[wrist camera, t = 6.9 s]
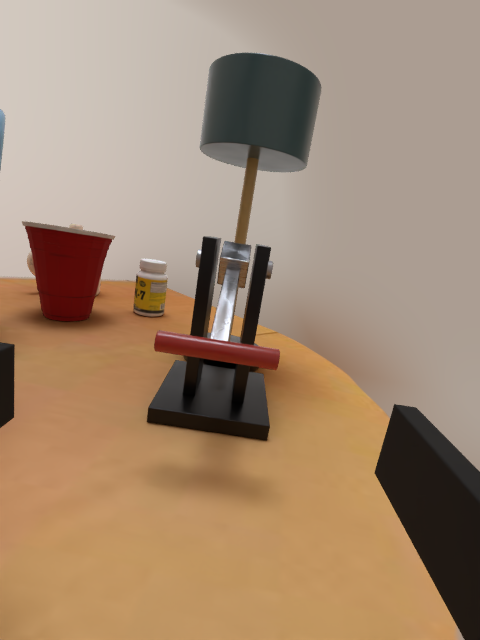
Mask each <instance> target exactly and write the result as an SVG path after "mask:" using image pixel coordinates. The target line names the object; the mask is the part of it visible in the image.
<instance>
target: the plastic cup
mask: <svg viewBox="0 0 480 640" xmlns="http://www.w3.org/2000/svg"><path fill="white" fill-rule="evenodd" d="M22 223H23V225H24V226H25V229H26V232H27V234H28V239H29V243H30V248H31V251H32V257H33V264H34V270H35V276H36V283H37V289H38V291H39V296H40V303H41V309H42V311H43V315H44V316H45V317H46V318H49V319H52V320H59V321H80V320H85V319H87V318H89V316H90V313H91V311H92V306H93V302H94V298H95V295H96V293H97V289H98V284H99V280H100V276H101V272H102V268H103V264H104V260H105V257H106V255H107V251H108V249H109V245H110V244H111V242H112V239H114V238H115V236H111V235H107V234H102V233H97V232H91V231H85V230H79V229H73V228H67V227H61V226H54V225H47V224H41V223H33V222H22Z"/></svg>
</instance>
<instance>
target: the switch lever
mask: <svg viewBox="0 0 480 640" xmlns="http://www.w3.org/2000/svg"><path fill="white" fill-rule="evenodd" d="M250 252H251V245H246V244H240V243H234V242H228V241H225V242H224V245H223V249H222V253H221V256H220V264H219V272H218V281H217V283H218V284H221V285H222V288H221V292H220V297H219V301H218V305H217V309H216V314H215V318H214V322H213V327H212V331H211V335H210V338H204V337H198V336H192V335H185V334H179V333H173V332H167V331H160V330H159V331H158V332H157V334H156V338H155V343H154V349H155V351H158V352H164V353H171V354H177V355H183V356H190V357H196V358H202V359H209V360H215V361H221V362H228V363H234V364H240V365H247V366H253V367H259V368H266V369H272V370H276V369H277V367H278V363H279V357H280V351H279V349H273V348H267V347H261V346H255V345H248V344H242V343H236V342H229V337H230V331H231V325H232V319H233V313H234V307H235V301H236V295H237V289H238V287H240V288H245V283H246V278H247V272H248V266H249V260H250Z"/></svg>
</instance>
